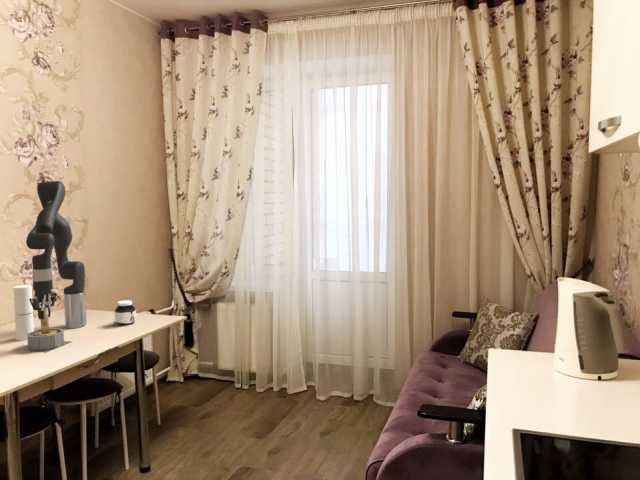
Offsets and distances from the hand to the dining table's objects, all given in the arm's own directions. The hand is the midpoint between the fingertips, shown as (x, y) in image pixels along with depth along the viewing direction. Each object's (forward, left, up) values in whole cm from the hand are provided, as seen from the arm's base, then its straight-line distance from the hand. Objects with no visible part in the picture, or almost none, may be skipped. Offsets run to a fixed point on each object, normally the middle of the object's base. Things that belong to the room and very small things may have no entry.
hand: (44, 317), depth 217 cm
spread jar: (-45, +9, -14) cm, 48 cm away
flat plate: (0, 0, -13) cm, 13 cm away
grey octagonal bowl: (0, 0, -12) cm, 12 cm away
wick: (0, 0, -10) cm, 10 cm away
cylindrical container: (-8, -18, -13) cm, 24 cm away
